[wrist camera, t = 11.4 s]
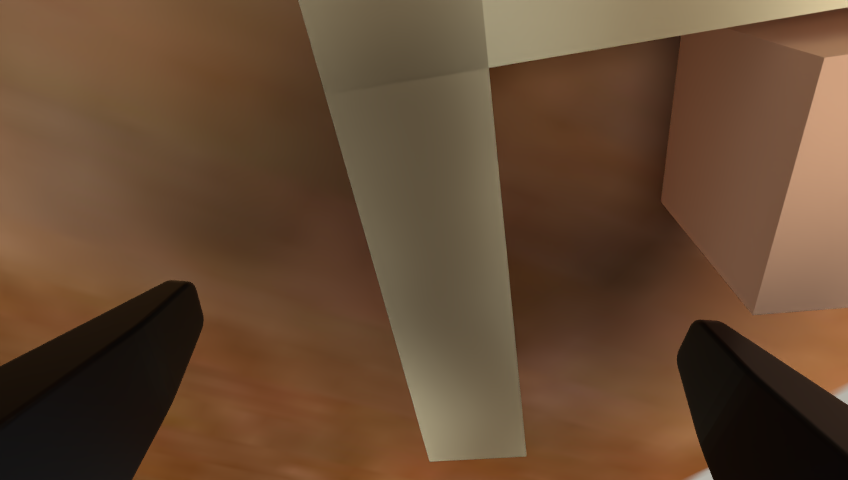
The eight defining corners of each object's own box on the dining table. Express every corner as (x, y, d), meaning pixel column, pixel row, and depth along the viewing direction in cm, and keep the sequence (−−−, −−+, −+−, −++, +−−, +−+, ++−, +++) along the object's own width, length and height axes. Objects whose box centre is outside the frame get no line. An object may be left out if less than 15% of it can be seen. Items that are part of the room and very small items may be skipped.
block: (659, 200, 14) (752, 314, 9) (681, 14, 11) (824, 58, 7) (848, 179, 13) (1039, 292, 9) (919, -24, 10) (1240, -3, 6)
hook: (434, 364, 18) (429, 461, 14) (334, -62, 11) (279, -65, 7) (771, 336, 16) (855, 438, 13) (928, -191, 9) (1218, -274, 6)
